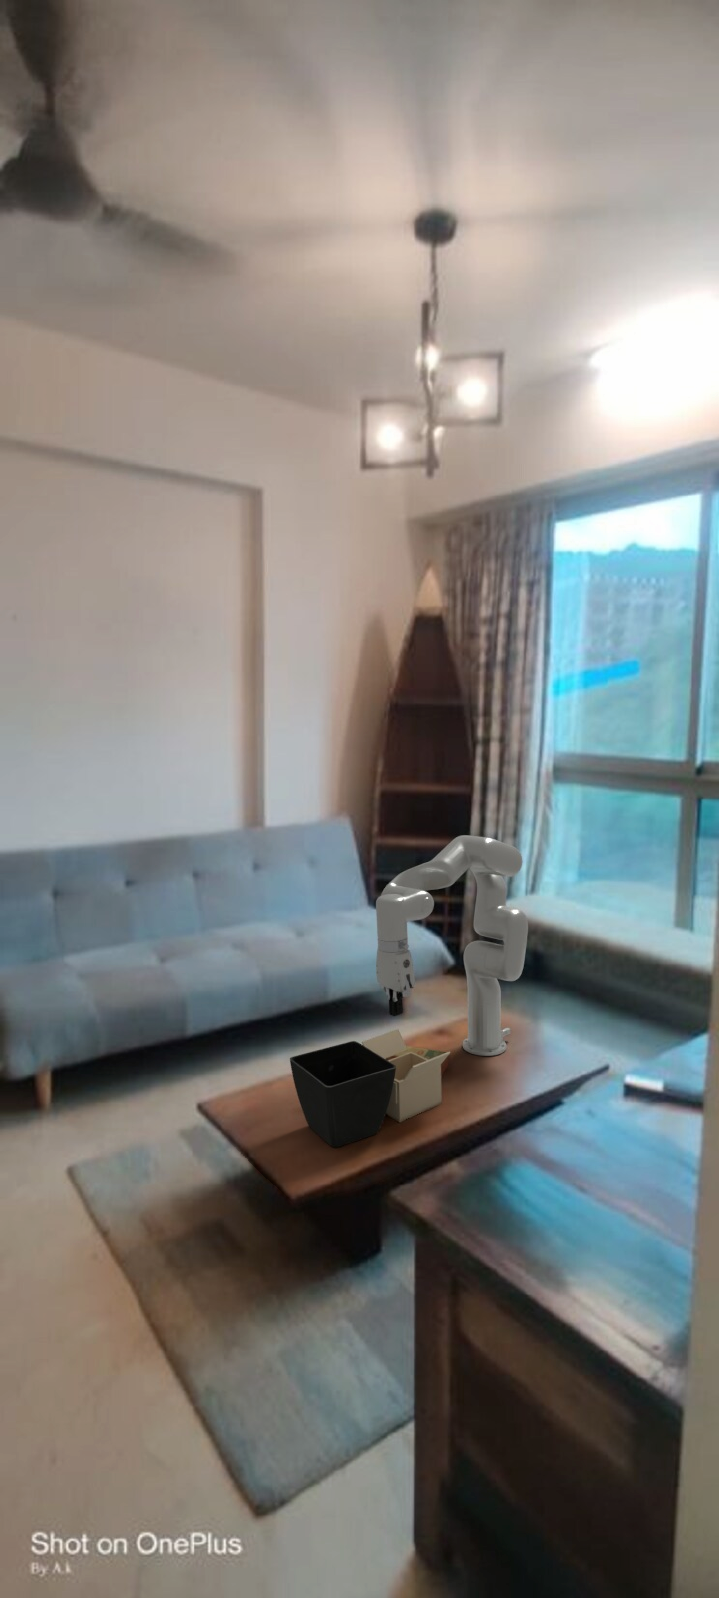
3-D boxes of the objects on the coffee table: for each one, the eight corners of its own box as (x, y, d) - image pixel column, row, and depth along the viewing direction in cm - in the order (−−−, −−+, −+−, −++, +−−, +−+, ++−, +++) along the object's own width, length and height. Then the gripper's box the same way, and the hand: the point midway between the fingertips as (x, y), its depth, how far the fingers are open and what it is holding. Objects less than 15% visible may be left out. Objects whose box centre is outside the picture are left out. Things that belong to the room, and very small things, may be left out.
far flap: (407, 1049, 206) (407, 1050, 206) (398, 1028, 208) (397, 1029, 208) (371, 1063, 198) (371, 1063, 198) (362, 1041, 200) (361, 1042, 201)
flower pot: (356, 1102, 200) (354, 1038, 199) (399, 1134, 185) (398, 1065, 183) (289, 1124, 190) (287, 1057, 189) (329, 1160, 175) (327, 1087, 173)
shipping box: (413, 1087, 207) (412, 1051, 206) (442, 1102, 199) (442, 1064, 198) (369, 1106, 198) (368, 1068, 197) (398, 1123, 190) (397, 1083, 189)
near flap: (449, 1051, 193) (450, 1052, 193) (439, 1064, 197) (440, 1065, 197) (412, 1066, 186) (413, 1067, 186) (402, 1079, 189) (403, 1080, 189)
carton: (395, 1057, 227) (395, 1042, 227) (449, 1065, 221) (449, 1050, 220) (385, 1069, 219) (385, 1054, 219) (440, 1078, 213) (440, 1062, 213)
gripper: (424, 947, 194) (427, 1018, 196) (384, 934, 206) (387, 1001, 208) (401, 954, 189) (405, 1027, 192) (362, 941, 201) (366, 1010, 203)
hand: (396, 1013), depth 200 cm, fingers closed
